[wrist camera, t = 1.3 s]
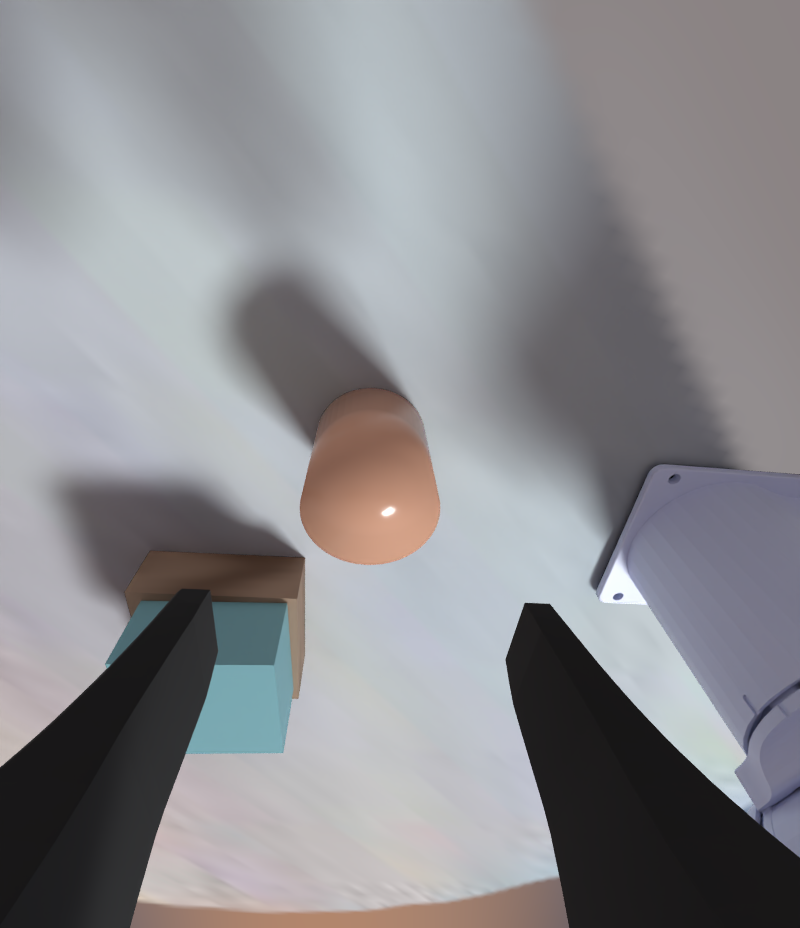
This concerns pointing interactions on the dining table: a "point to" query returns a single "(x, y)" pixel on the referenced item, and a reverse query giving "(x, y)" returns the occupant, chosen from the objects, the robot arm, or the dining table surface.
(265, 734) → the teal top slab
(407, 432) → the terracotta cylinder
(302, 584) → the walnut base slab
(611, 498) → the dining table surface
